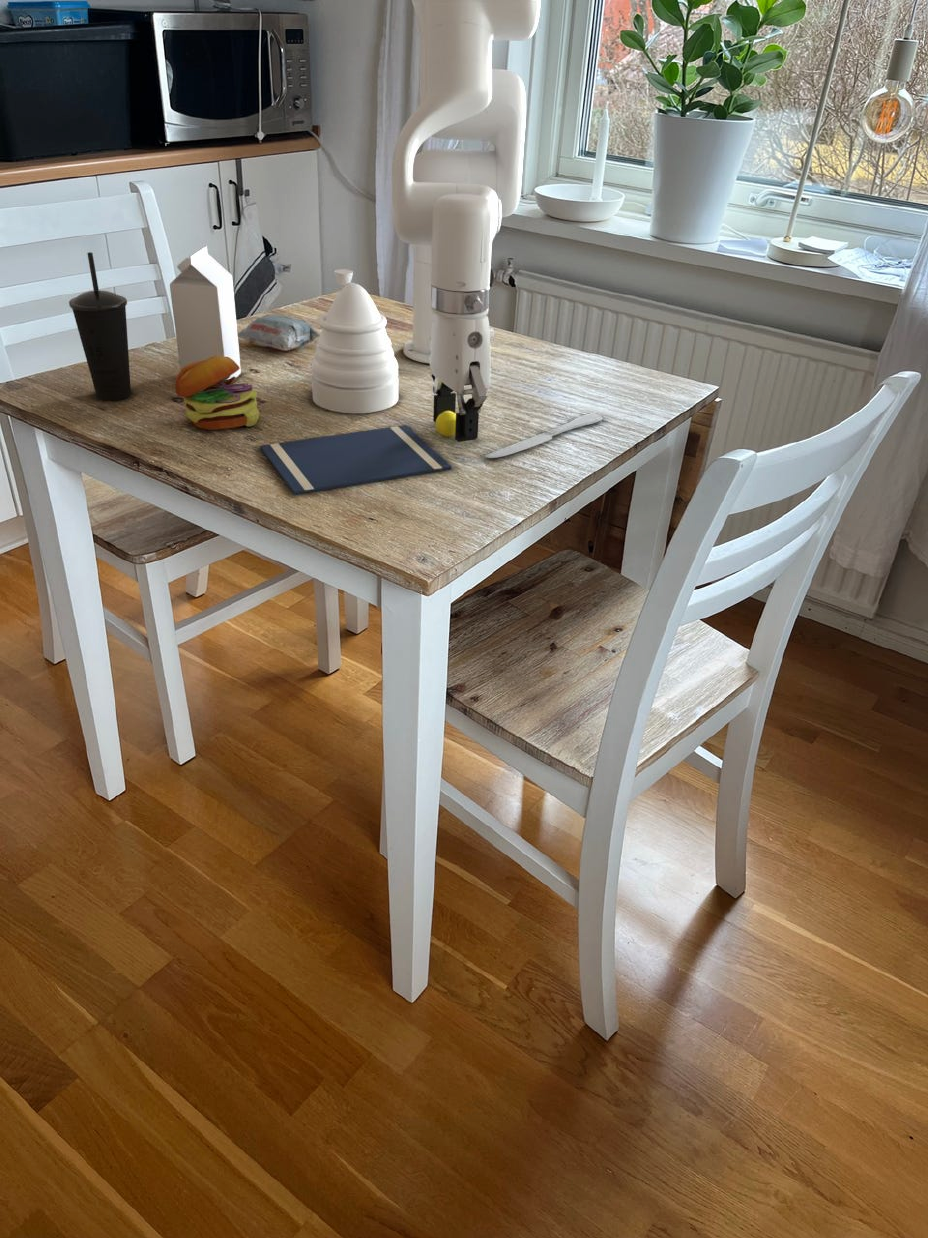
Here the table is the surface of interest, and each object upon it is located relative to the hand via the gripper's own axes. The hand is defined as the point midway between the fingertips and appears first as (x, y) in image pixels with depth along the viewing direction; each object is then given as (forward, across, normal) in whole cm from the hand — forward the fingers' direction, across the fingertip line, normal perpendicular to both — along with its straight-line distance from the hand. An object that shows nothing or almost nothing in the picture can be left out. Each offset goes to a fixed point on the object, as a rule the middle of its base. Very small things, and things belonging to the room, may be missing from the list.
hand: (455, 429), depth 131 cm
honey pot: (+1, +18, +8) cm, 20 cm away
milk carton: (+1, +33, +26) cm, 42 cm away
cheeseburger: (+1, +16, +29) cm, 33 cm away
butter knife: (+1, -6, -11) cm, 13 cm away
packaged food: (+1, +45, +12) cm, 47 cm away
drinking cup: (+1, +31, +41) cm, 51 cm away
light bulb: (+1, 0, 0) cm, 1 cm away
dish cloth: (+1, -3, +16) cm, 16 cm away
